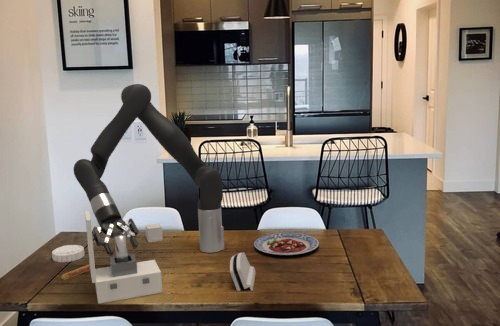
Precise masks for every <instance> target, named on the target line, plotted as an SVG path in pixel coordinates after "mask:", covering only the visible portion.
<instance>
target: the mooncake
mask: <svg viewBox="0 0 500 326" xmlns="http://www.w3.org/2000/svg"><path fill="white" fill-rule="evenodd" d="M51 257H52V261H54V262H56V263H70V262H74V261H78V260H80V259H82V258H83V257H85V248H84V246H82V245H80V244H79V245H78V244H67V245H62V246H59V247H57V248H55V249H53V250H52V251H51Z"/></svg>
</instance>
